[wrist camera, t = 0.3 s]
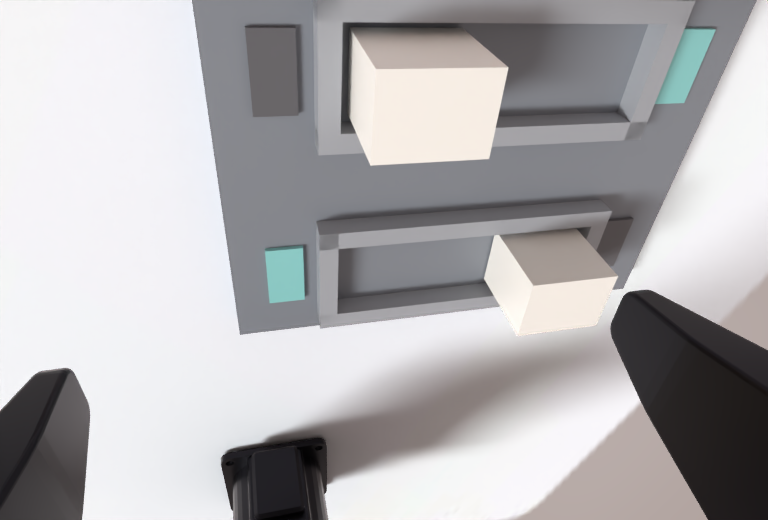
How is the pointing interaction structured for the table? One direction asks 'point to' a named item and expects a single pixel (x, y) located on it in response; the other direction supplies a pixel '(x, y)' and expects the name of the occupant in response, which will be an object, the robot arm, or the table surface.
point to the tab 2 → (548, 280)
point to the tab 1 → (423, 94)
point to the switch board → (450, 178)
